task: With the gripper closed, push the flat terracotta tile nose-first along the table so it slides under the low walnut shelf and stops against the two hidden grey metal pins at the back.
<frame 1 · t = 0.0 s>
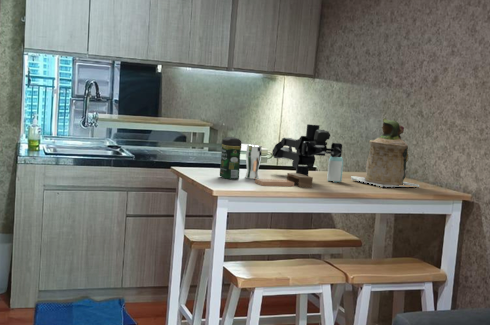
hand: (331, 151, 287), 17 cm above the table, tool horizontal, fingers open, 9 cm apart
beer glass: (251, 178, 307), on the table
can: (334, 182, 319), on the table
coffee jar: (228, 178, 301), on the table
shelf: (299, 185, 296), on the table
tile: (274, 185, 292), on the table
cookie jar: (384, 185, 324), on the table
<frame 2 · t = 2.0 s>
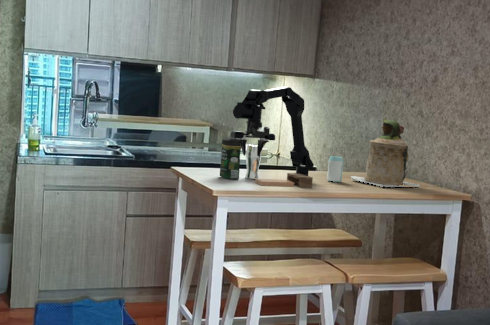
hand: (251, 155, 286), 12 cm above the table, tool pointing down, fingers open, 6 cm apart
nothing on the table moved.
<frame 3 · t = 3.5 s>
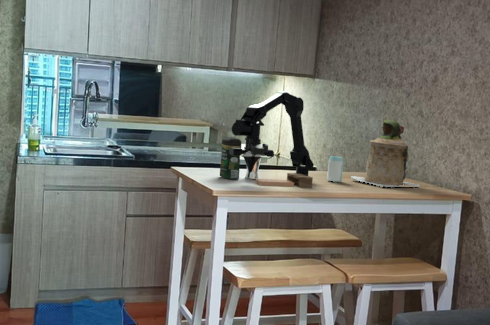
hand: (250, 172, 287), 5 cm above the table, tool pointing down, fingers closed
nothing on the table moved.
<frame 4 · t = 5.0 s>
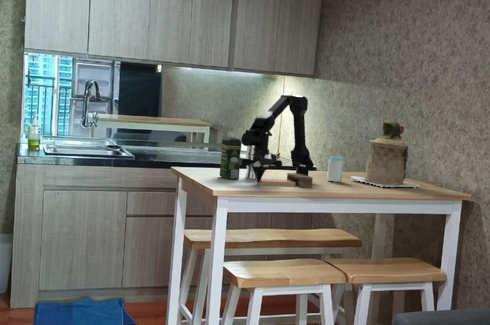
hand: (258, 182, 289), 1 cm above the table, tool pointing down, fingers closed
tile: (275, 185, 292), on the table, touching gripper
everything else where it was.
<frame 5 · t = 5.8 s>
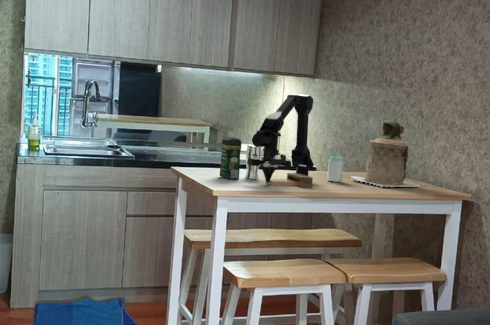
hand: (267, 182, 290), 1 cm above the table, tool pointing down, fingers closed
tile: (284, 185, 294), on the table, touching gripper
everything else where it was.
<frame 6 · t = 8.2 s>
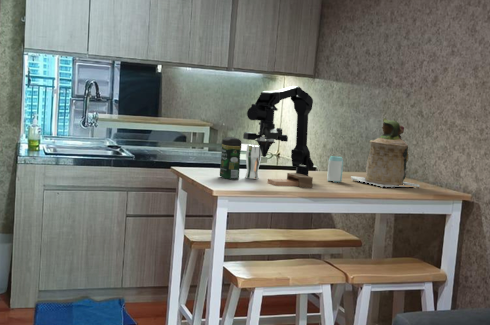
hand: (264, 156, 288), 12 cm above the table, tool pointing down, fingers closed
tile: (286, 185, 295), on the table
everything else where it was.
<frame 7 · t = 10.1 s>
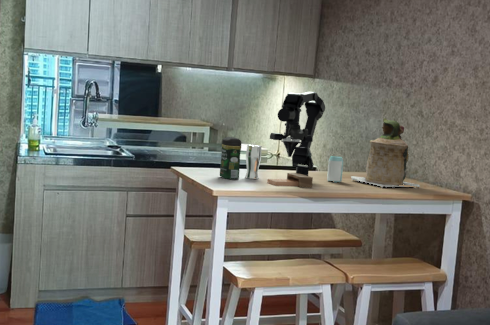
hand: (289, 156, 297), 12 cm above the table, tool pointing down, fingers closed
nothing on the table moved.
at the end: tile 1.1 cm from the target spot on the table beside the shelf, on the table; tile tilted 0°; tile moved 6.5 cm from its start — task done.
